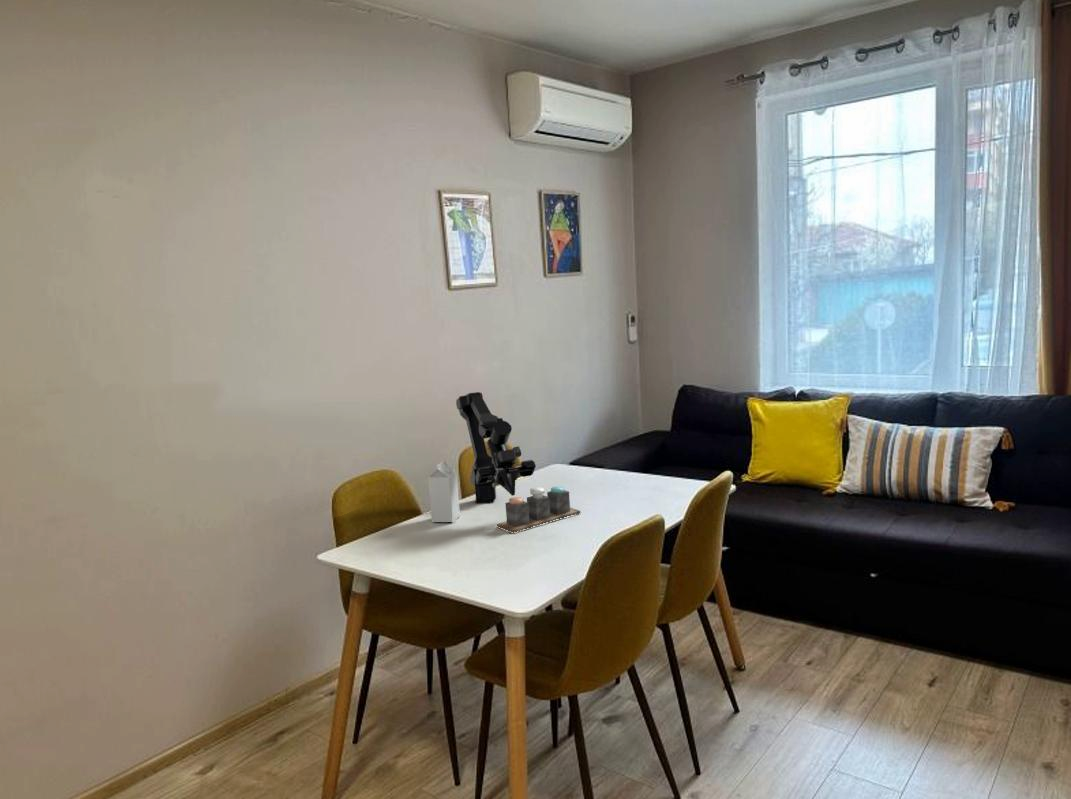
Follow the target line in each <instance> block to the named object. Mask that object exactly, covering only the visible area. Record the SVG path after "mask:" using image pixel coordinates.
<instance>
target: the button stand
mask: <svg viewBox="0 0 1071 799" xmlns="http://www.w3.org/2000/svg"><path fill="white" fill-rule="evenodd" d="M546 495H547V496H546ZM546 495H544V494H543V498H540V499H534V498H533V495H530V496H528V497H526V501H524V503H523V504H520V505H510V504H509V501H508V502H505V516H506V521H502V522H498V523H496V527H497V526H498V527H500V528H503V529H505V530H508V531H511V532H513V533H514V532H517V531H520V530H523V529H527V528H531V527H533V526H537V525H540V524H543V523H546V522H550V521H553V520H556V519H560V518H564V517H567V516H571V515H575V514H578V515H580V514H581V510H579V509H575V508H573V507H571V500H570V491H568V490H565V492H564V493H561V494H553V493H551V490H550V491H546ZM579 513H580V514H579ZM575 516H576V515H575ZM498 527H497V528H498ZM500 528H499V529H500ZM503 529H502V530H503ZM531 529H532V528H531ZM505 530H504V531H505ZM514 534H515V533H514Z"/></svg>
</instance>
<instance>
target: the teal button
mask: <svg viewBox="0 0 1071 799" xmlns="http://www.w3.org/2000/svg"><path fill="white" fill-rule="evenodd" d="M550 491H551V493H553V494H561V493H564V492H565V491H566V489H565V487H564V486H561V485H560V486H559V485H557V486H552V487H550Z"/></svg>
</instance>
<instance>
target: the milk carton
mask: <svg viewBox="0 0 1071 799" xmlns="http://www.w3.org/2000/svg"><path fill="white" fill-rule="evenodd" d="M427 479H428V480H427V482H428V494H429V503H430V504H429V505H430V515H431V516H430V517H431V523H432V522H453V521H454V520H455V519H456V518H458V517H459V516H460V517H461V514H460V513H461V511H460V500H459V489H458V488H459V487H458V475H457V472H456V470H454V468H452V467H451V466H449V465H448V464H447V463H446V460H443V461H441V462H440V463H438V464H437V465H436V469H435V471H434V472H432V474H430V476H428V478H427ZM460 517H459V518H460ZM459 518H458V519H459ZM456 520H457V519H456ZM456 520H455V521H456ZM455 521H454V522H455ZM454 522H453V523H454Z"/></svg>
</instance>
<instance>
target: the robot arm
mask: <svg viewBox="0 0 1071 799" xmlns="http://www.w3.org/2000/svg"><path fill="white" fill-rule="evenodd" d="M455 402H456V403H455V404H456V405H455V406H456V408H457V410H458V412H459V415H460V416H461V417H462V418H463V420H464V421H466V426H467V430H468V433H469V439H470V442H471V447H472V452H473V455H474V456H473V457H474V461H473V464H472V466H471V468H472V470H471V473H470V477H469V479H470V484H471V485H472V486H473V487H474V491H475V501H474V503H475V504H483V503H482V502H491V503H494V502H495V500H496V499H497V489H496V488H497V487H496V485H495V484H498V485H499V486H501V487H502V488H503V489H504V490H505V491H506V492H507V493H509V494H510V495H511V496H513V497H514V496H516V481H517V479H518V478H519V475H520V476H521V477H523V478H525V477H530V476H533V475H534V472H535V470H536V468H537V466H536V462H535V461H534V460H533V459H528V460H523V461H521V462H520V465H517V466H514V465H515V464H516V460H517V459H518V458H520V457H521V456H522V450H521V448H520V445H517V446H514V447H512V449H508V447H507V443H508V442H509V440H510V436H511V433H512V425H511V424H510V423H509V421H506V420H504V419H503V417H498V416H497V415H494V414H492V412H491V410H490V409H489V407H488V406H487V403H486V402H485V400H484V396H483V394H482V392H480V391H476V392H469V393H466V394H465V395H459V397H458V398H456V401H455ZM485 439H488V440H487V442H486V443H485ZM486 445H487V446H486ZM488 451H489V453H488ZM489 454H490V455H489Z"/></svg>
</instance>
